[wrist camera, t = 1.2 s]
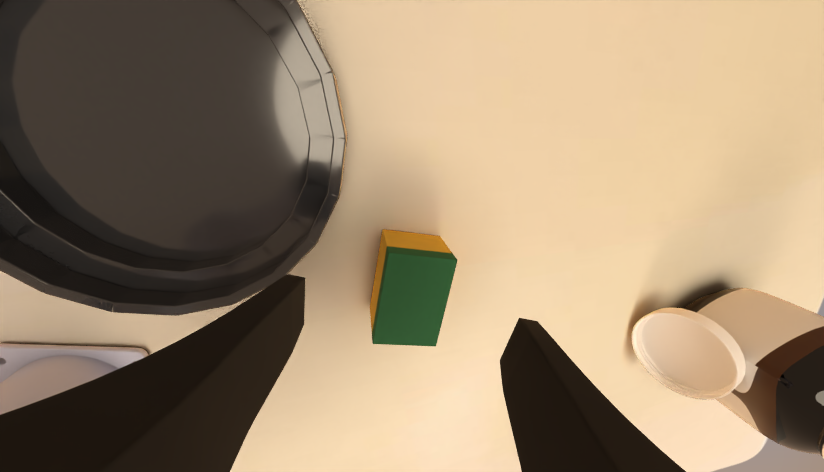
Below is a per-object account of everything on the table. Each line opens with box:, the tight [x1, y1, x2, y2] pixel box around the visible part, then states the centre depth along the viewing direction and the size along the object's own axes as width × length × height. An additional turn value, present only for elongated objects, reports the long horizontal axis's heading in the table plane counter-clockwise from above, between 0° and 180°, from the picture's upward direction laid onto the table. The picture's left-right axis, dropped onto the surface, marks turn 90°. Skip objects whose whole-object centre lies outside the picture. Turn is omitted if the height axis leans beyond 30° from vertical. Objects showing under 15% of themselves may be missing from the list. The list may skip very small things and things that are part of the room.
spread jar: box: [632, 288, 824, 458], centre depth 23 cm, size 12×11×12 cm
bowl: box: [0, 0, 347, 315], centre depth 15 cm, size 18×18×4 cm
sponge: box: [370, 229, 457, 346], centre depth 20 cm, size 6×4×4 cm, turn 170°
